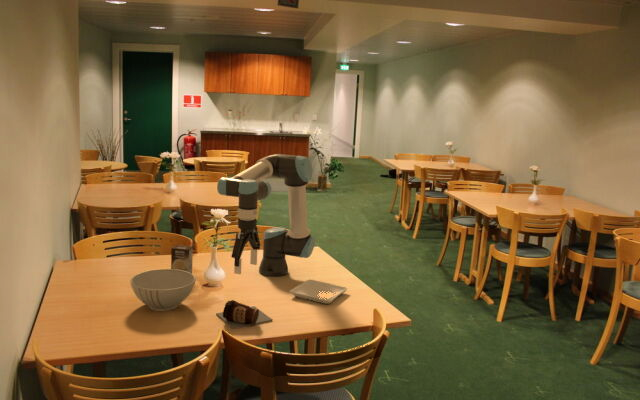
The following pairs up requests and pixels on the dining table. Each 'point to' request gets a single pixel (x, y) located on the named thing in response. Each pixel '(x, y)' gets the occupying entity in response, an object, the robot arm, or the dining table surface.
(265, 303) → the dining table surface
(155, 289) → the decorative bowl
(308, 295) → the salad plate
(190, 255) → the coffee box
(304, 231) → the robot arm
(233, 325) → the rubber mat
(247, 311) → the coffee cup
